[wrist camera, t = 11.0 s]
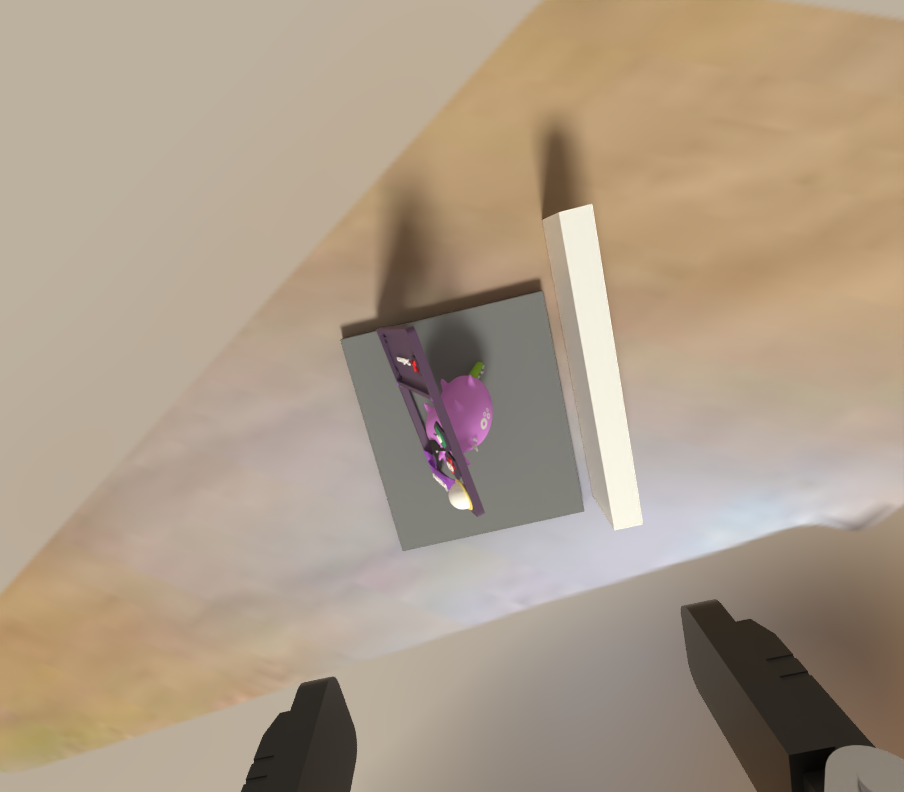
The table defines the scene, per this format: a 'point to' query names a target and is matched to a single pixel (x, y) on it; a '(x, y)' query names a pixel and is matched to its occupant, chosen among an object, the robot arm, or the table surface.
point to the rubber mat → (509, 438)
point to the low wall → (593, 362)
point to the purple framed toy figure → (442, 412)
